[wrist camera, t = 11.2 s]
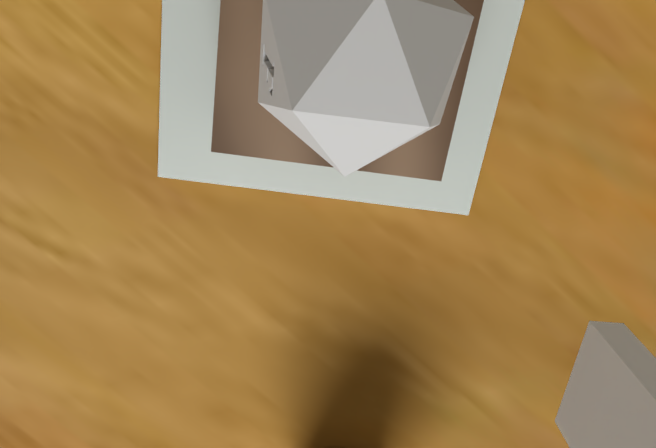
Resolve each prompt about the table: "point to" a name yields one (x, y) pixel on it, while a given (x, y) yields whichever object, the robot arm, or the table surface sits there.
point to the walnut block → (280, 142)
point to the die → (359, 71)
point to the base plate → (242, 171)
